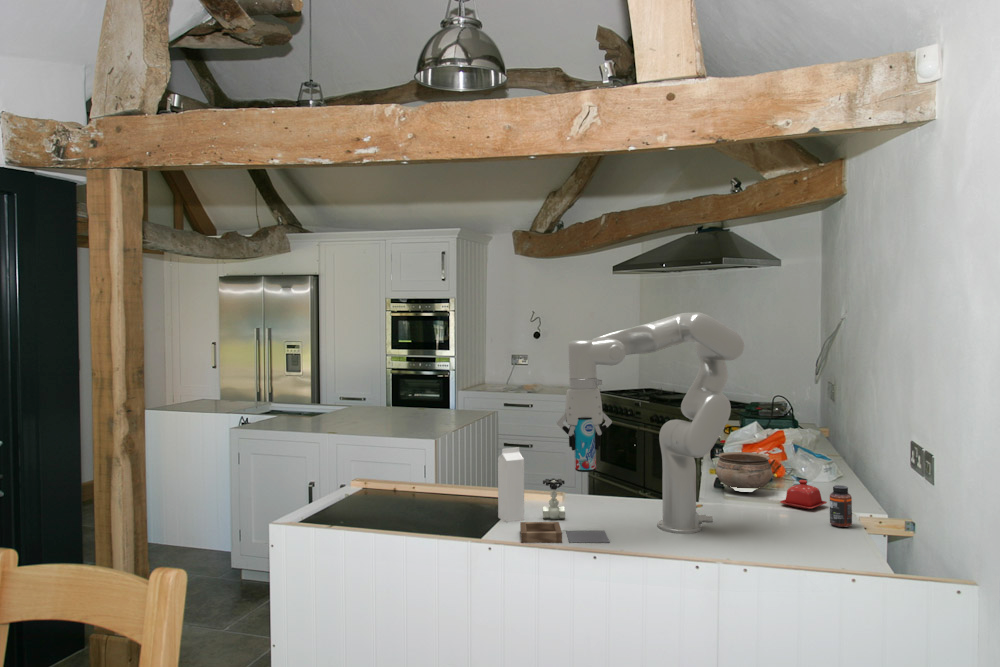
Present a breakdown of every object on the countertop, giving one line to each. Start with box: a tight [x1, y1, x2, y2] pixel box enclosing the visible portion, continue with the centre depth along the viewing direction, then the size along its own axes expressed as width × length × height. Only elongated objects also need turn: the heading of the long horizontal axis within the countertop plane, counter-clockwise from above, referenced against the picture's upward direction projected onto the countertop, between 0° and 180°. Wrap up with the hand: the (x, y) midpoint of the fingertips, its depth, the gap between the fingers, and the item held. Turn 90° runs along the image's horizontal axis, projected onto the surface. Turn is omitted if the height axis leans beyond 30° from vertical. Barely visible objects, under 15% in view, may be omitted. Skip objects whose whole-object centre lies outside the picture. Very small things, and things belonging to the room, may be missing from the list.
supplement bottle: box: [829, 484, 853, 528], centre depth 214 cm, size 6×6×11 cm
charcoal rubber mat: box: [565, 529, 611, 544], centre depth 202 cm, size 11×11×1 cm
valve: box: [542, 477, 566, 521], centre depth 221 cm, size 7×7×12 cm
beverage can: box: [573, 418, 597, 473], centre depth 202 cm, size 6×6×15 cm
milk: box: [497, 446, 525, 523], centre depth 221 cm, size 6×6×22 cm
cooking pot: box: [715, 451, 773, 488], centre depth 258 cm, size 25×19×12 cm
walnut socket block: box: [520, 521, 563, 544], centre depth 202 cm, size 11×11×3 cm
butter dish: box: [779, 479, 828, 510], centre depth 237 cm, size 12×12×8 cm
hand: (584, 448), depth 202 cm, fingers closed on beverage can, 5 cm apart
